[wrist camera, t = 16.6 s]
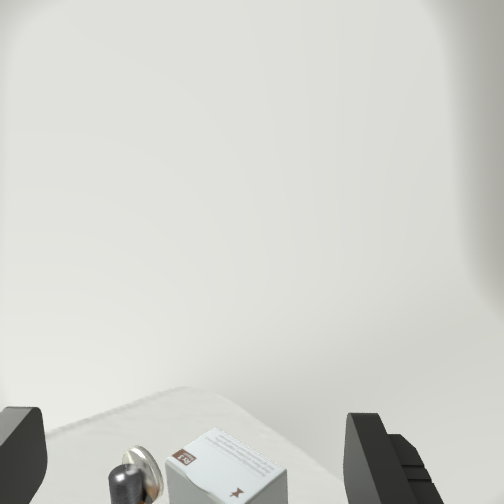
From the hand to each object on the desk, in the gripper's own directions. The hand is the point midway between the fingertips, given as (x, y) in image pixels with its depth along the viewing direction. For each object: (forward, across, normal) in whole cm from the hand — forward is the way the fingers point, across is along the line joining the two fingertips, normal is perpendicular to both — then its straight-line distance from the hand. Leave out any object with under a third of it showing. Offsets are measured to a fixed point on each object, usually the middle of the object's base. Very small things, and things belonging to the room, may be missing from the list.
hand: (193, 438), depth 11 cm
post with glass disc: (+18, +8, +26) cm, 32 cm away
